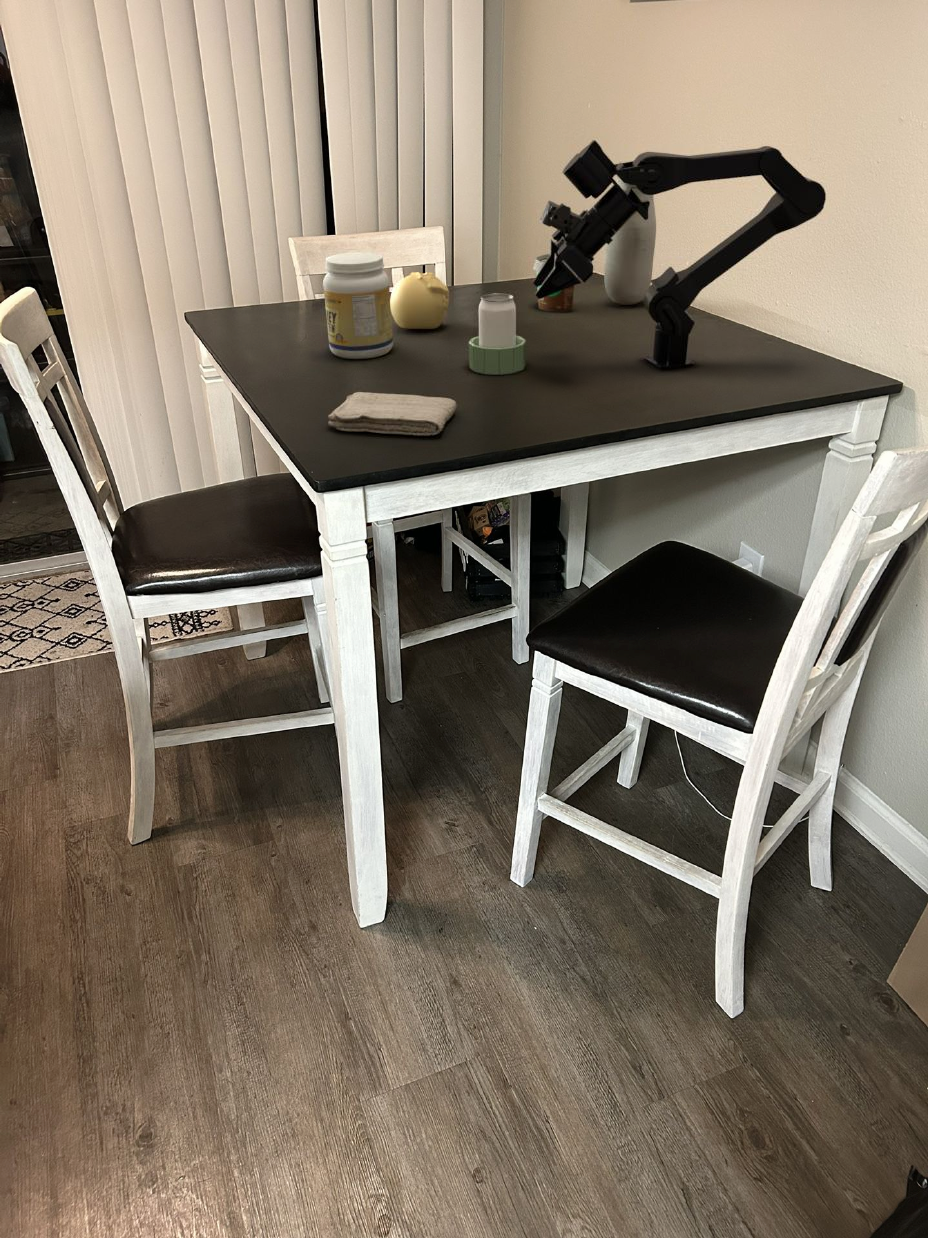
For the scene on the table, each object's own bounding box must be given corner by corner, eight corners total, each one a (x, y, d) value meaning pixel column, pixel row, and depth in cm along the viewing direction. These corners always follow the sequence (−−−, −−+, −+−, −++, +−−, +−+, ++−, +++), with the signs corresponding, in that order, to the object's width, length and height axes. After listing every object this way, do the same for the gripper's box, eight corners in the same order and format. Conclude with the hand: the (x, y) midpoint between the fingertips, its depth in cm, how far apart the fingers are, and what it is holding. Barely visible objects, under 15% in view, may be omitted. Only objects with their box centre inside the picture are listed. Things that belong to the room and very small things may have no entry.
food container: (522, 303, 203) (523, 256, 198) (547, 300, 205) (548, 253, 200) (550, 315, 194) (551, 266, 188) (575, 312, 196) (577, 262, 190)
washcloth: (351, 405, 148) (349, 387, 146) (459, 411, 144) (458, 392, 142) (325, 432, 138) (323, 412, 136) (441, 439, 134) (440, 418, 133)
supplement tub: (323, 347, 177) (313, 254, 168) (383, 339, 181) (376, 248, 172) (338, 363, 168) (329, 266, 159) (401, 355, 171) (396, 259, 162)
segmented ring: (532, 370, 161) (533, 345, 159) (479, 377, 159) (479, 351, 157) (514, 356, 169) (514, 331, 167) (463, 361, 167) (462, 336, 165)
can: (516, 360, 167) (516, 292, 160) (514, 371, 161) (514, 301, 155) (480, 360, 167) (479, 292, 161) (477, 371, 162) (476, 301, 155)
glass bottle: (595, 301, 204) (602, 160, 189) (637, 296, 206) (647, 158, 191) (614, 311, 196) (623, 165, 181) (657, 306, 198) (670, 162, 183)
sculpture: (458, 330, 186) (456, 274, 180) (402, 337, 182) (398, 280, 176) (438, 317, 195) (436, 264, 189) (384, 324, 191) (381, 269, 185)
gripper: (566, 175, 156) (501, 245, 162) (575, 190, 140) (503, 267, 146) (610, 224, 160) (545, 291, 166) (623, 244, 144) (551, 316, 150)
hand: (535, 290), depth 157 cm, fingers open, 9 cm apart
